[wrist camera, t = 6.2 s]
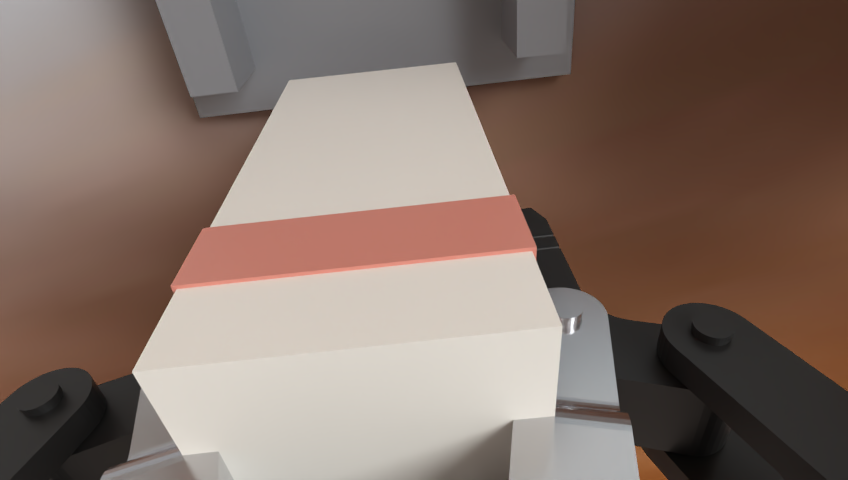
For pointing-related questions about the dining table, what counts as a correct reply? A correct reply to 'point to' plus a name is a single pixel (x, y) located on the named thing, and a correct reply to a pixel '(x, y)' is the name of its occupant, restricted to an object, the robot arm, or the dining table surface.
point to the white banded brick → (360, 296)
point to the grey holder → (357, 42)
